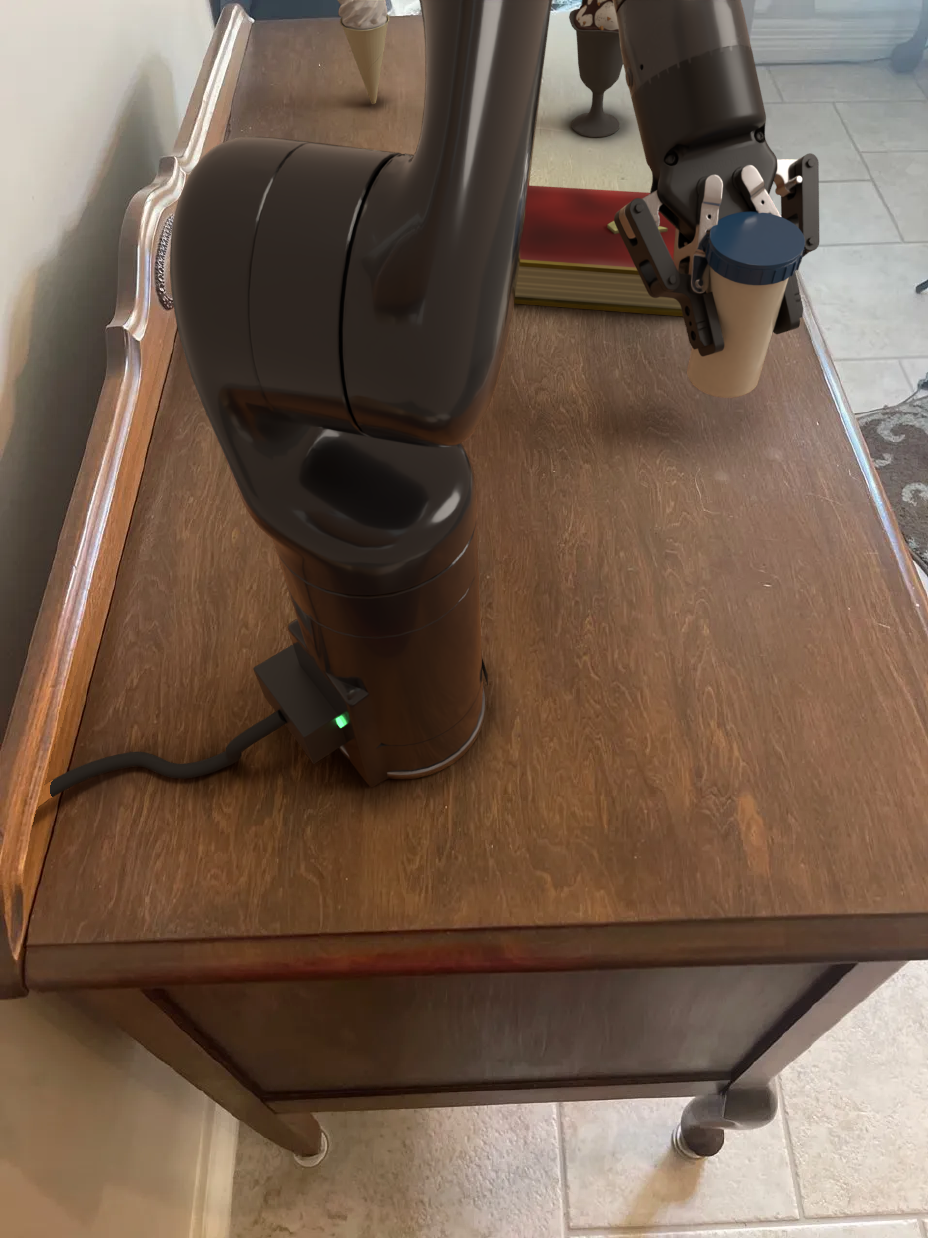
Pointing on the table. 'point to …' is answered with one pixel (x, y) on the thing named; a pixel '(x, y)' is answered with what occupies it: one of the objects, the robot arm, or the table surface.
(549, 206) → the hardcover book
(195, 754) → the table surface
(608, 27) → the sundae
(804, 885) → the table surface
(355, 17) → the ice cream cone
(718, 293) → the jar
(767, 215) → the jar lid
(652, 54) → the robot arm
